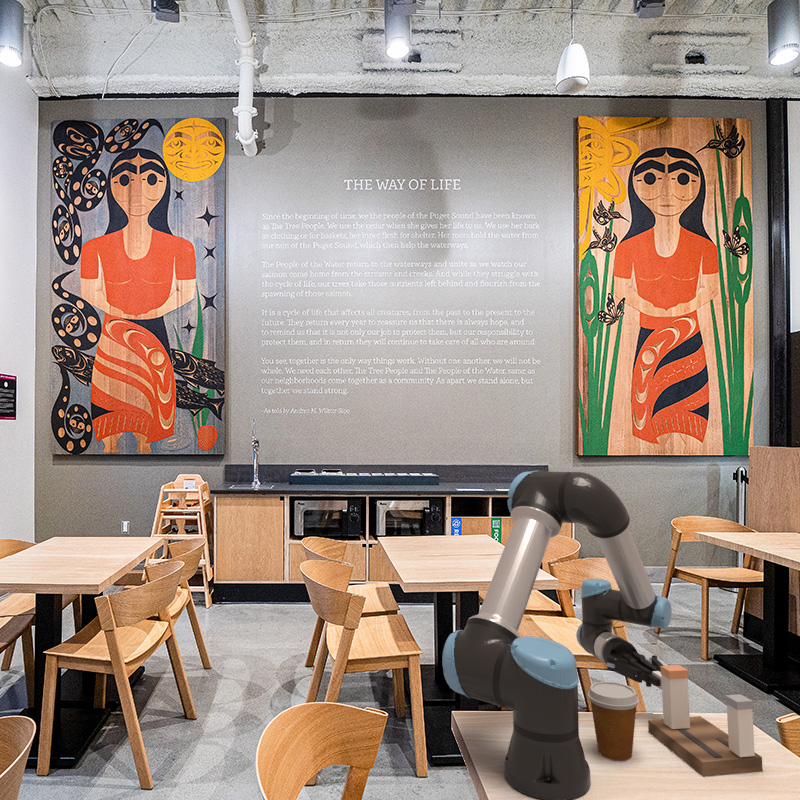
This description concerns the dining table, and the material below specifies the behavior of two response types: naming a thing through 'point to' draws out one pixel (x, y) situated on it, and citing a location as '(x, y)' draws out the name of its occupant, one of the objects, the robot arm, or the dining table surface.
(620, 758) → the disposable coffee cup
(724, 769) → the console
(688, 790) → the dining table surface
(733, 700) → the grey topped white block
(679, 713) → the orange topped beige block
